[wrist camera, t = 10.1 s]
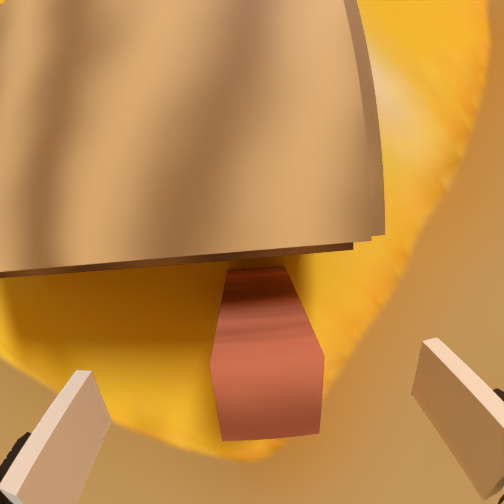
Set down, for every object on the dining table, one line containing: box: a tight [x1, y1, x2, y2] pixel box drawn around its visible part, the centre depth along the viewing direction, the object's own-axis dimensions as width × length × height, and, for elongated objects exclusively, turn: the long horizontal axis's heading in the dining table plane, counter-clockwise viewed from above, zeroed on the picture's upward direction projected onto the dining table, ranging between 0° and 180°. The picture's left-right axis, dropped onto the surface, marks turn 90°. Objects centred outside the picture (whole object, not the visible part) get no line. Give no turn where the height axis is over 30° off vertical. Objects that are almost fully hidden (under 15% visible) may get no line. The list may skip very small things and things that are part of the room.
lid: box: [0, 0, 385, 272], centre depth 10 cm, size 26×15×8 cm, turn 95°
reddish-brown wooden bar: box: [210, 267, 324, 441], centre depth 17 cm, size 4×4×12 cm
